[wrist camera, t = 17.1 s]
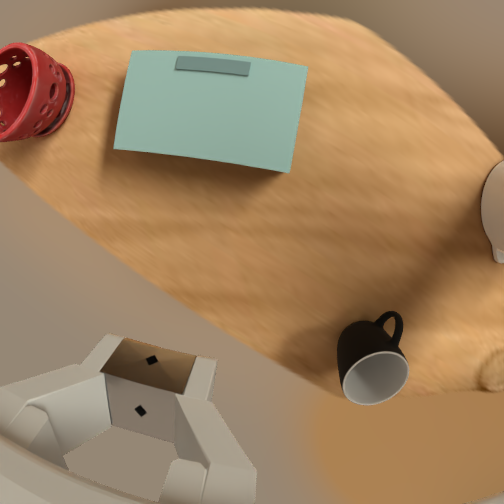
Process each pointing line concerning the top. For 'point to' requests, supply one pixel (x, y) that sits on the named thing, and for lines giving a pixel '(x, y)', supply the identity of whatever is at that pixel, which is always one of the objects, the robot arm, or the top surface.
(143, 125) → the lid
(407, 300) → the top surface
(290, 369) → the top surface
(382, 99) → the top surface
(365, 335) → the mug
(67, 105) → the plant pot
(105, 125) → the top surface
